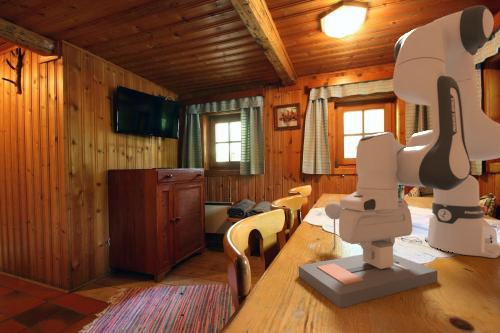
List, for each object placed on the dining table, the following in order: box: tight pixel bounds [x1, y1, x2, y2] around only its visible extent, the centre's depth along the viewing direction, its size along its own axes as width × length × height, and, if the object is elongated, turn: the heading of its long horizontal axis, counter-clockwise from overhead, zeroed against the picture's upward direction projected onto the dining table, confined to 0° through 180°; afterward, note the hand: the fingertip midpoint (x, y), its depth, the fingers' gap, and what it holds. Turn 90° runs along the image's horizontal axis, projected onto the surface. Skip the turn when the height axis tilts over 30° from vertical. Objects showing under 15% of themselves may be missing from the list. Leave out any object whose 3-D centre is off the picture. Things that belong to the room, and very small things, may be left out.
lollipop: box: [324, 201, 344, 248], centre depth 78 cm, size 6×6×15 cm
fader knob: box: [362, 240, 394, 269], centre depth 56 cm, size 4×5×5 cm
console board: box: [297, 253, 439, 309], centre depth 55 cm, size 28×14×3 cm, turn 111°
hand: (377, 257), depth 56 cm, fingers closed on fader knob, 4 cm apart
